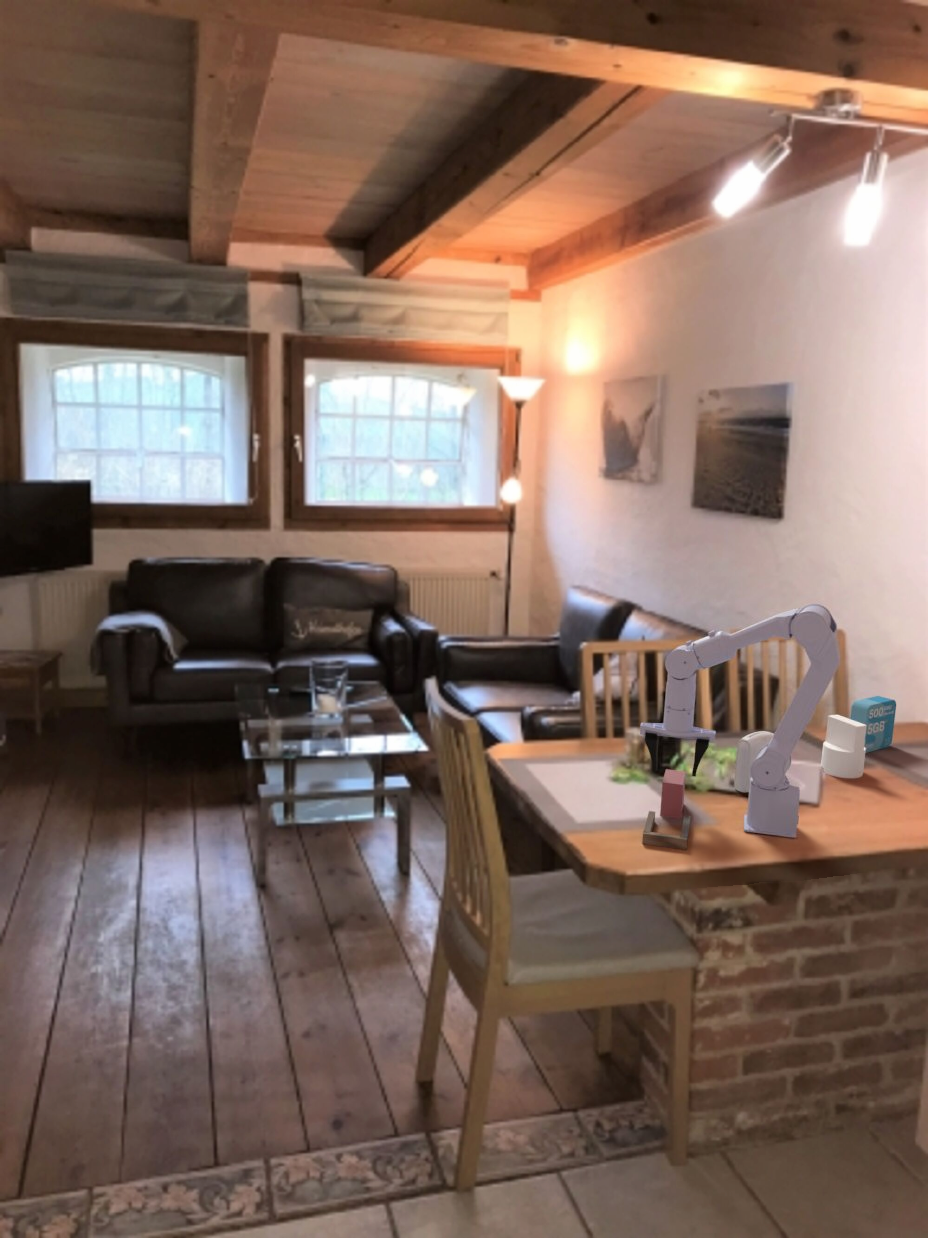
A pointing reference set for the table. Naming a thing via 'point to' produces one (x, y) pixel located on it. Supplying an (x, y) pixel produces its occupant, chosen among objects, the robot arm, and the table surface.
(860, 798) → the table surface
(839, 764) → the cylinder with rectangular tab
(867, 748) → the data package
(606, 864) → the table surface
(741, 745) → the photo printer
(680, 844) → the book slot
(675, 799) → the dull red block
